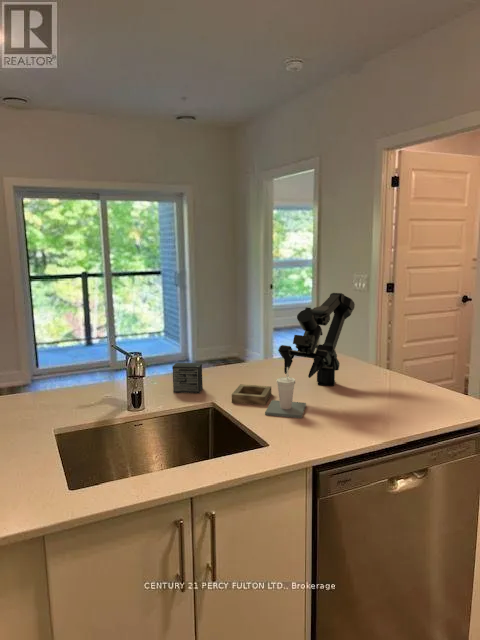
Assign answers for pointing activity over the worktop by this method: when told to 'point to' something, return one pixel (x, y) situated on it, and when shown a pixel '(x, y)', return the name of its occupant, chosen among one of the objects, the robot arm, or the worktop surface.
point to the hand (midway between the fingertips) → (296, 375)
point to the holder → (251, 394)
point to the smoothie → (285, 391)
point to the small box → (187, 377)
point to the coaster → (293, 412)
